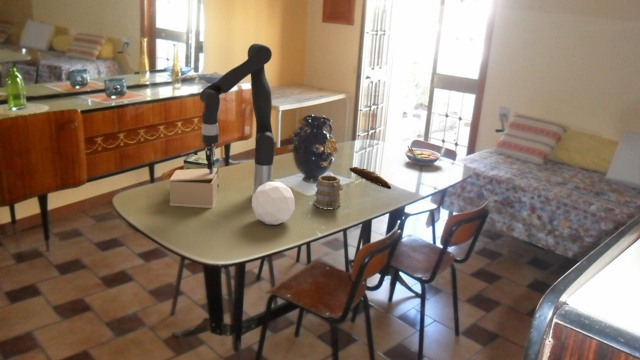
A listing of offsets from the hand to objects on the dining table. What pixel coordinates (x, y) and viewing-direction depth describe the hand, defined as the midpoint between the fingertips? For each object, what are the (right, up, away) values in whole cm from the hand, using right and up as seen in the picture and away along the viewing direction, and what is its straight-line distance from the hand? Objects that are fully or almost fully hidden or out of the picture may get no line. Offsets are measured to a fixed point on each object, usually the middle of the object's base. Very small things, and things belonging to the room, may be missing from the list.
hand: (210, 167), depth 265 cm
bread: (+81, -6, +58) cm, 100 cm away
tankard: (+57, -20, +11) cm, 61 cm away
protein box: (-9, -10, +24) cm, 28 cm away
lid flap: (-8, -4, +1) cm, 9 cm away
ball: (+30, -25, -11) cm, 41 cm away
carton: (-9, -16, +5) cm, 19 cm away
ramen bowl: (+117, +4, +93) cm, 149 cm away
